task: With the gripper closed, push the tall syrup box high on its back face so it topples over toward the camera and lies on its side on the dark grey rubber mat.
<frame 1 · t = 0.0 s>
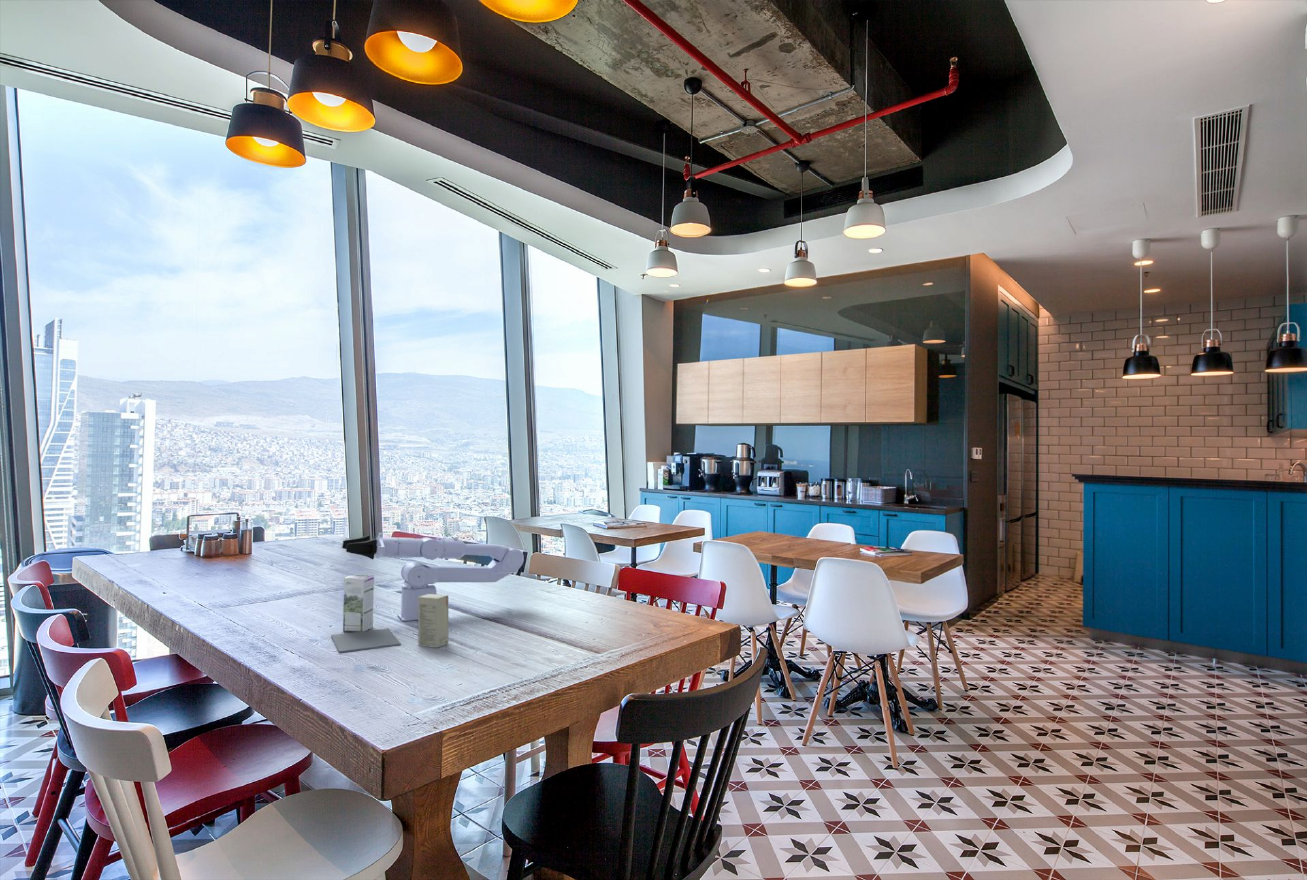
hand: (344, 546, 182), 22 cm above the table, tool horizontal, fingers open, 7 cm apart
skincare box: (432, 645, 165), on the table
syrup box: (358, 630, 177), on the table
grey mat: (365, 640, 167), on the table
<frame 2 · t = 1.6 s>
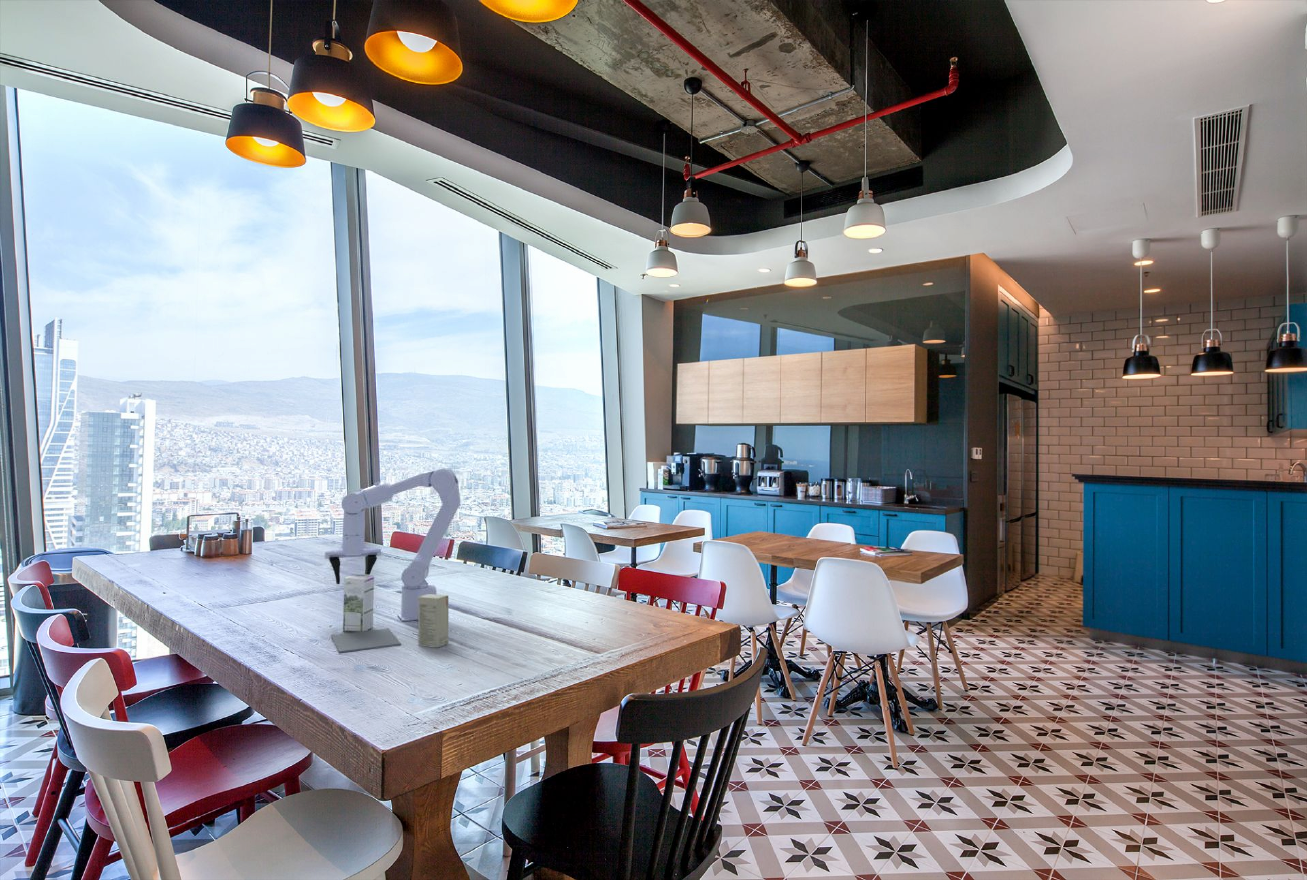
hand: (352, 582, 188), 10 cm above the table, tool pointing down, fingers open, 7 cm apart
nothing on the table moved.
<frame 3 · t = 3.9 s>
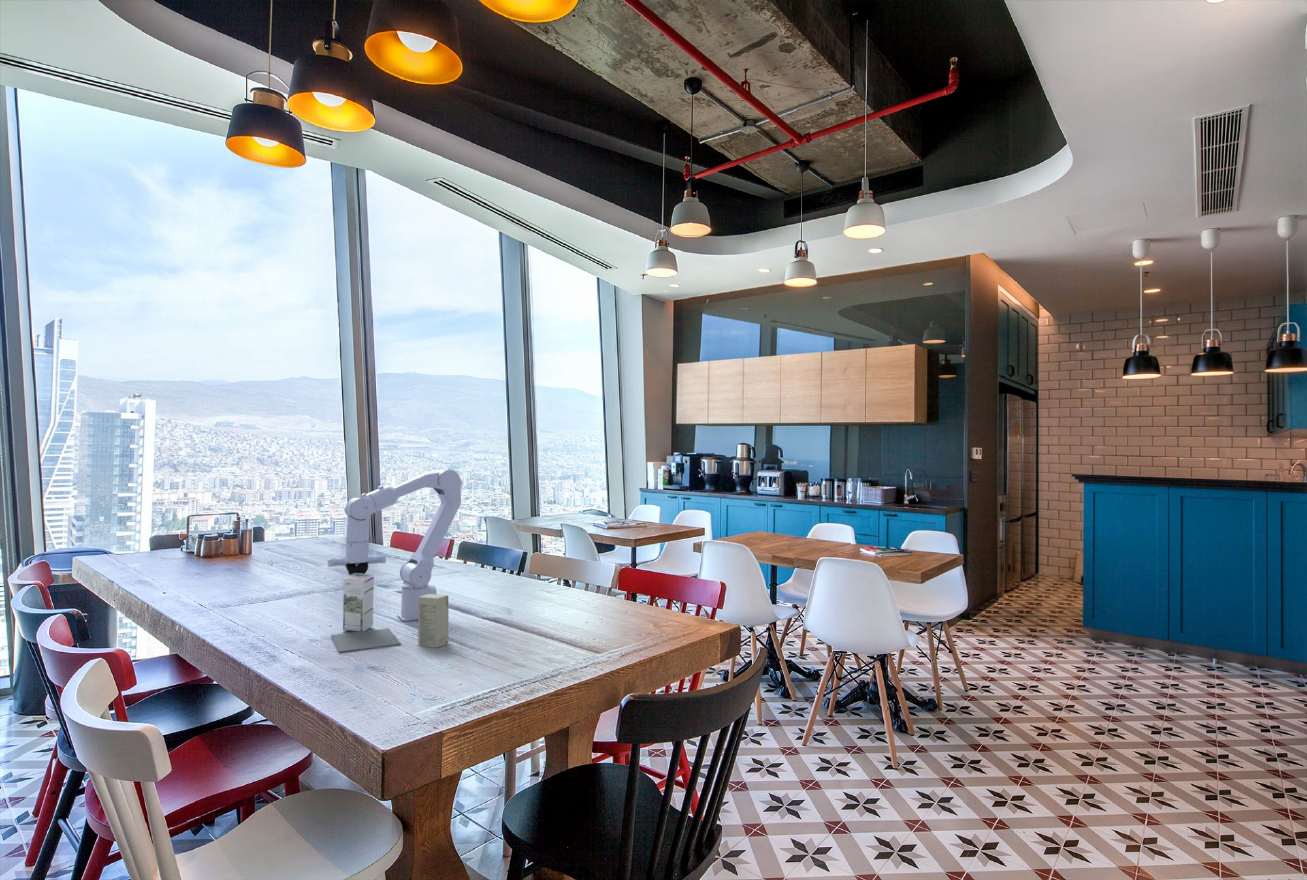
hand: (356, 590, 182), 9 cm above the table, tool pointing down, fingers closed
syrup box: (358, 629, 177), on the table, touching gripper
everything else where it was.
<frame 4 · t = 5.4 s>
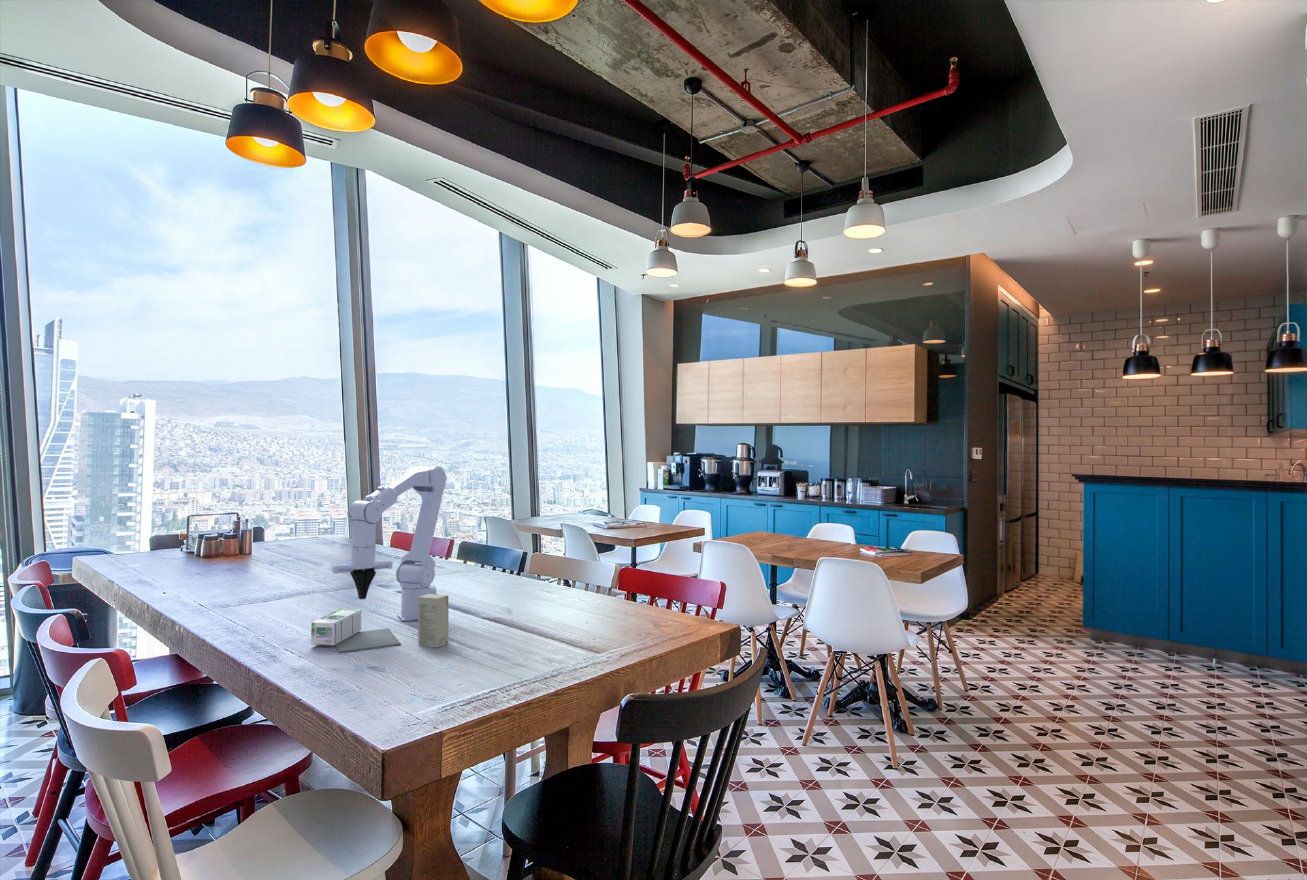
hand: (362, 598, 173), 9 cm above the table, tool pointing down, fingers closed
syrup box: (351, 619, 175), point 3 cm above the table, touching grey mat
everything else where it was.
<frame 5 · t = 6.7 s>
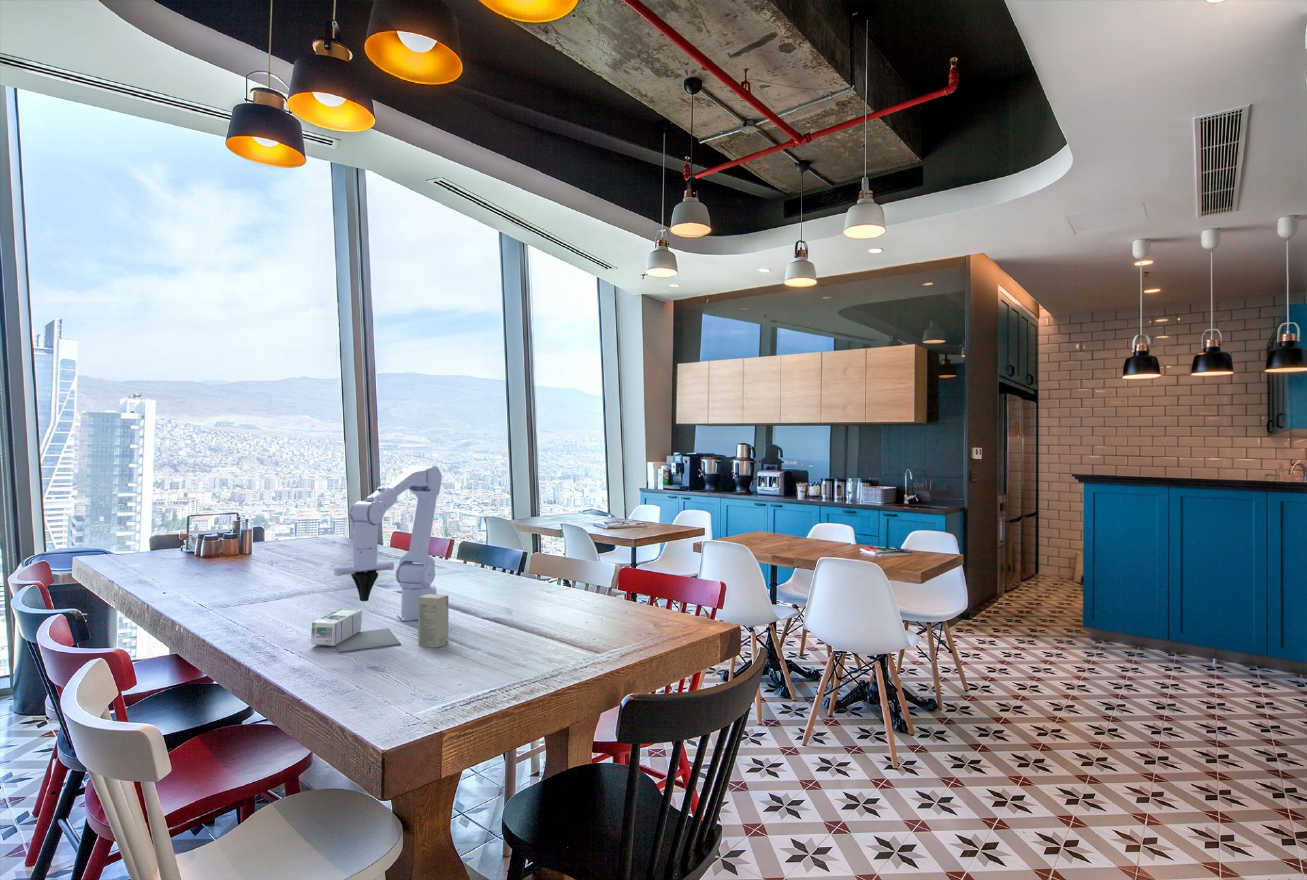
hand: (364, 600, 171), 9 cm above the table, tool pointing down, fingers closed
nothing on the table moved.
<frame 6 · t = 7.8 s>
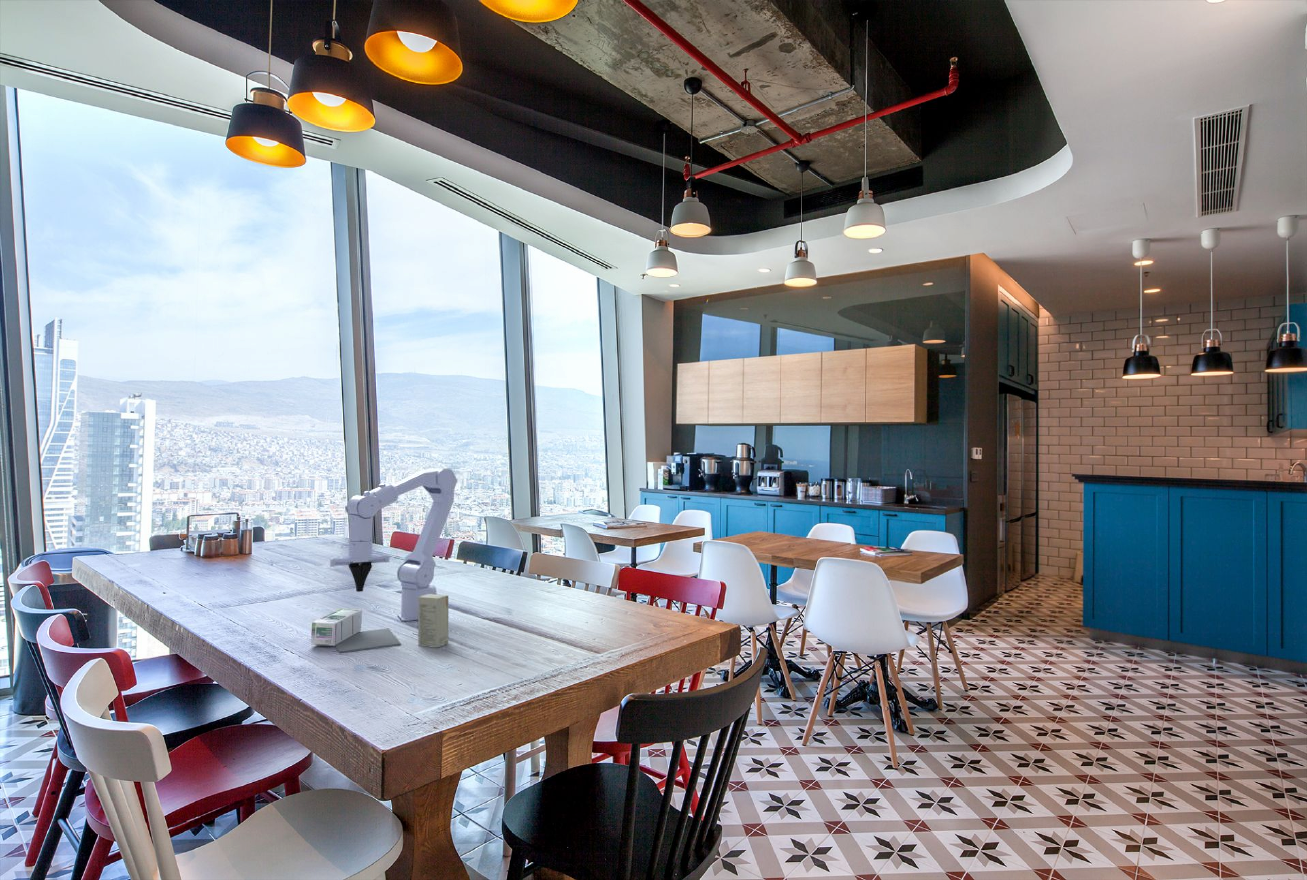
hand: (359, 591, 178), 10 cm above the table, tool pointing down, fingers closed
nothing on the table moved.
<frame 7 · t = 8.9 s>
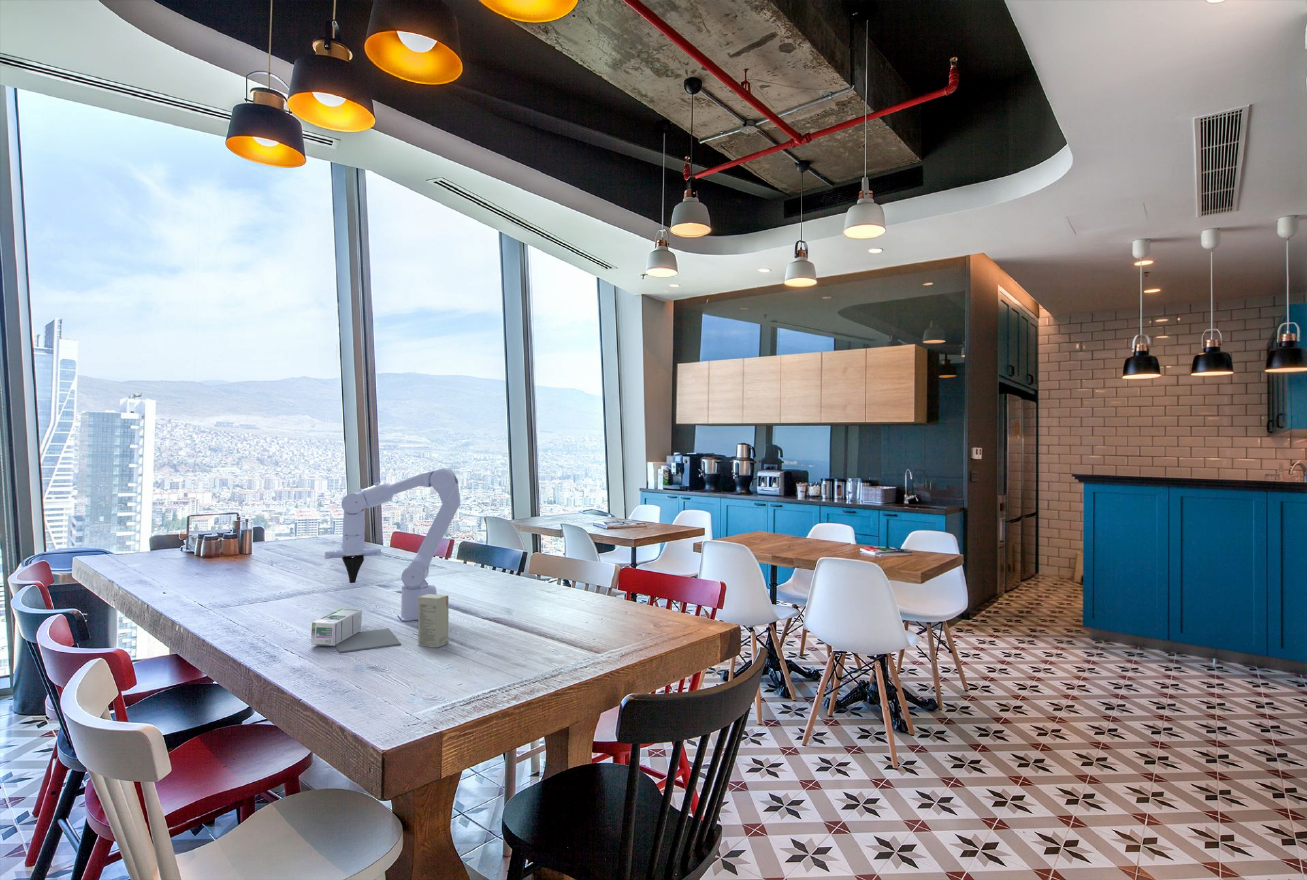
hand: (352, 582, 188), 10 cm above the table, tool pointing down, fingers closed
nothing on the table moved.
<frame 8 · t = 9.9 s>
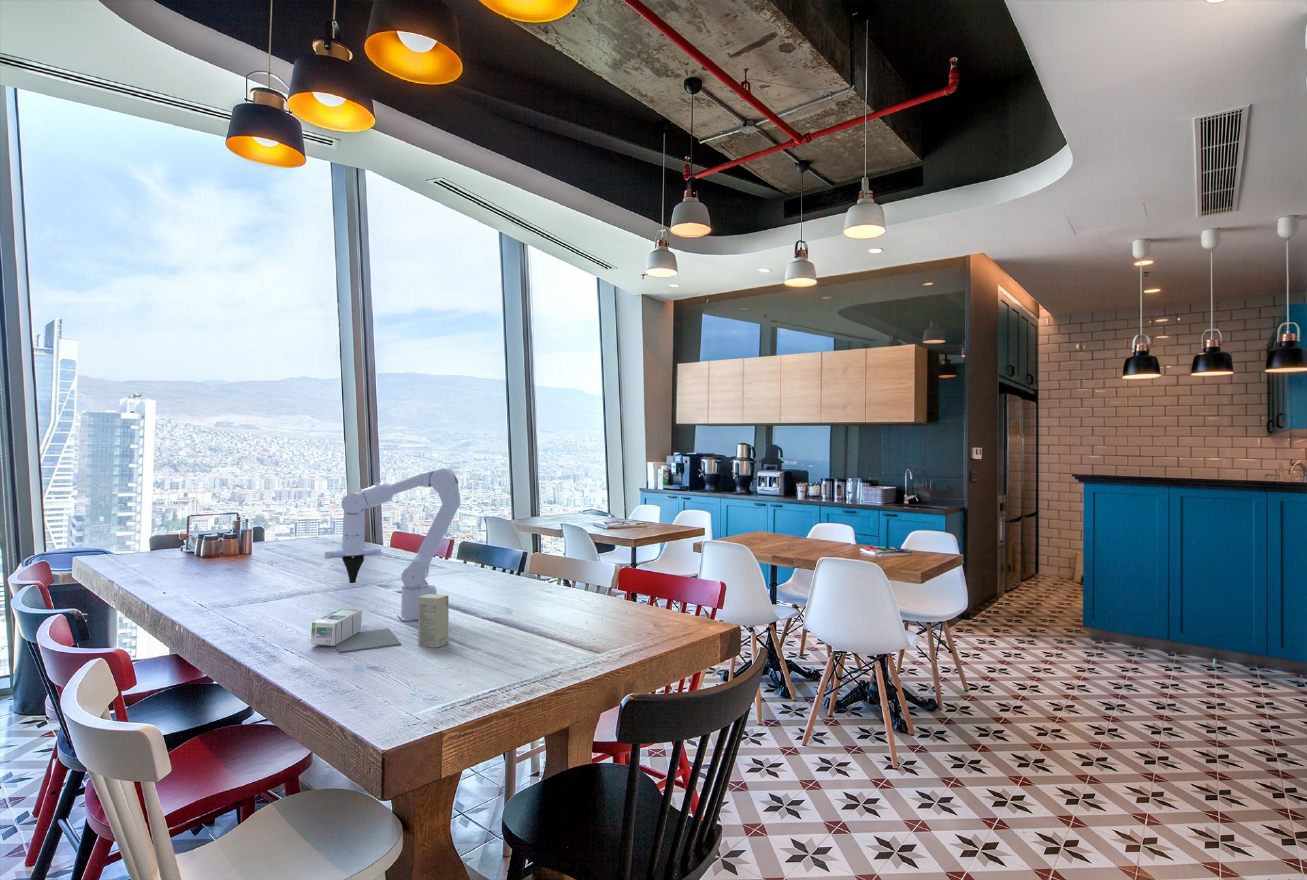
hand: (352, 582, 188), 10 cm above the table, tool pointing down, fingers closed
nothing on the table moved.
at the end: syrup box tilted 89°; syrup box inside the target area (3.0 cm from its centre), point 3.1 cm above the table; syrup box touching grey mat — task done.
